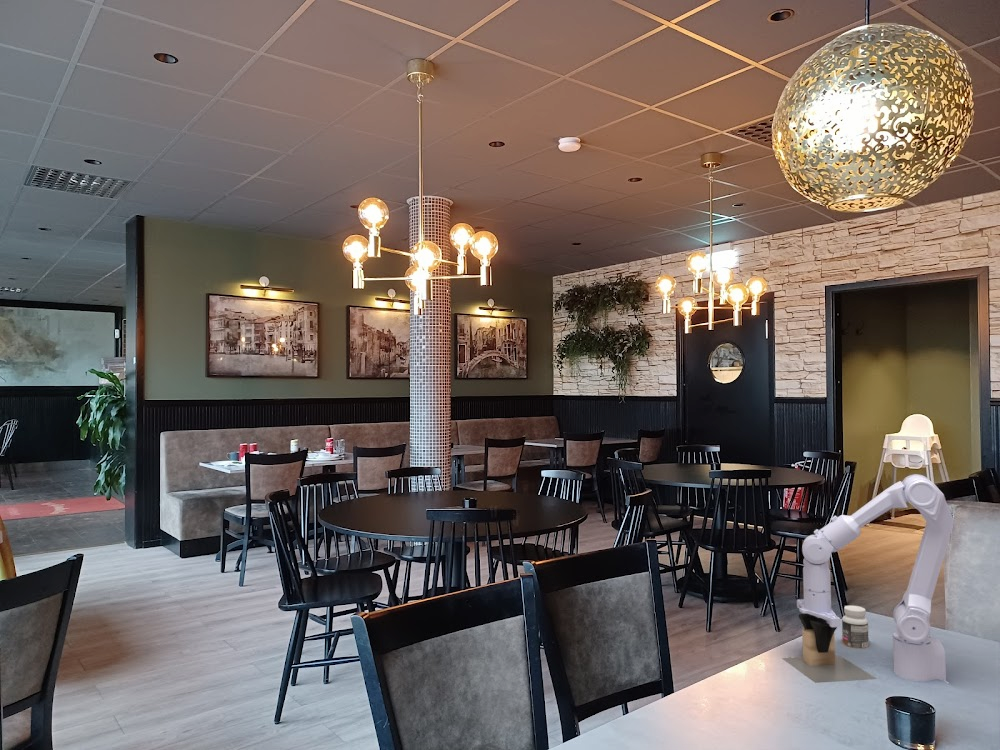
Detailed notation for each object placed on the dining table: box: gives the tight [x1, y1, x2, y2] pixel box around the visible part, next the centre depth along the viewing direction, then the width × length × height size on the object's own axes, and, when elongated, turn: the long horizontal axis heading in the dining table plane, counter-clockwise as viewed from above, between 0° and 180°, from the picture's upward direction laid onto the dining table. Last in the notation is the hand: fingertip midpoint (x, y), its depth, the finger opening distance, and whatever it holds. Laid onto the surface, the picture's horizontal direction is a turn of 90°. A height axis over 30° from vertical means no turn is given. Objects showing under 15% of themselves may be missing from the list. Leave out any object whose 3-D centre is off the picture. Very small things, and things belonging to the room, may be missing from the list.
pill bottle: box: [841, 605, 870, 649], centre depth 174 cm, size 6×6×10 cm
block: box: [801, 629, 836, 665], centre depth 162 cm, size 6×3×7 cm, turn 96°
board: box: [781, 654, 878, 684], centre depth 159 cm, size 14×14×1 cm
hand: (818, 649), depth 163 cm, fingers closed on block, 3 cm apart
